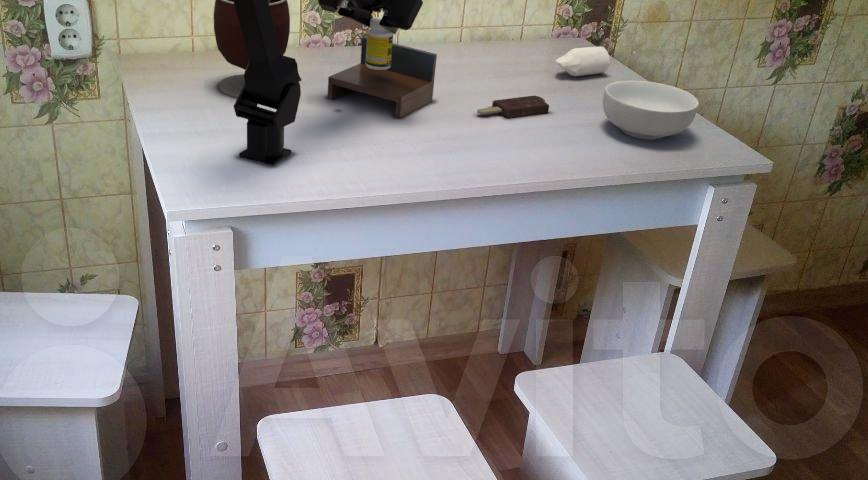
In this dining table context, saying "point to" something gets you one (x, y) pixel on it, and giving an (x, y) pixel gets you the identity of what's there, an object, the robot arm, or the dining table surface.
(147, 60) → the dining table surface
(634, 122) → the cereal bowl
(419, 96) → the shelf
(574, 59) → the white tapered cylinder
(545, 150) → the dining table surface
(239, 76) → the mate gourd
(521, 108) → the ice cream bar
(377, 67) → the supplement bottle
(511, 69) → the dining table surface
